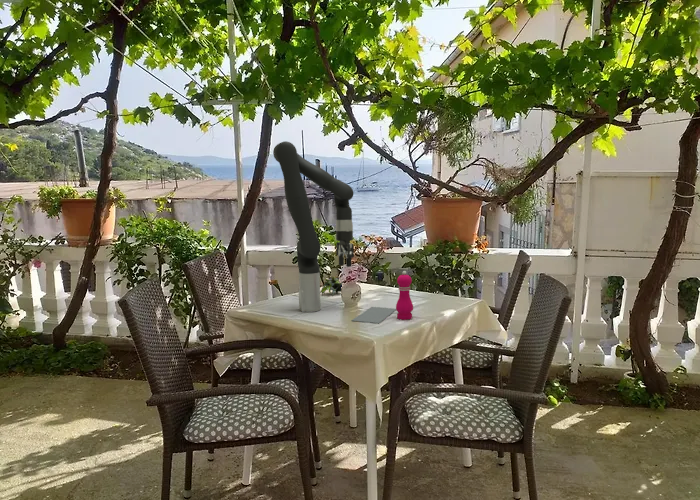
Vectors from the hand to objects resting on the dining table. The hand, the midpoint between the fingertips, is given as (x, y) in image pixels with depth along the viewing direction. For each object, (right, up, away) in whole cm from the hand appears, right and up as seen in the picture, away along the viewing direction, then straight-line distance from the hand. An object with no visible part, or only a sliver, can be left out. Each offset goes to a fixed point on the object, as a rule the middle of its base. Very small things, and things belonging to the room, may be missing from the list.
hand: (345, 265), depth 231 cm
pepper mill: (+25, -22, -16) cm, 37 cm away
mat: (+13, -21, -11) cm, 27 cm away
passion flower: (-6, -16, +30) cm, 35 cm away
